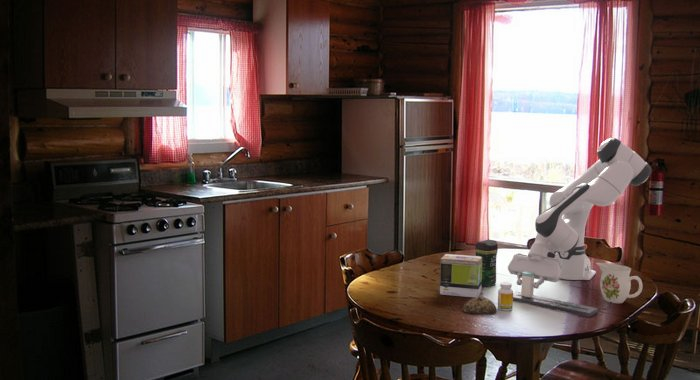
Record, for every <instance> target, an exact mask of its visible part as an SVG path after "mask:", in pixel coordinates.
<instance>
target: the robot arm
mask: <svg viewBox="0 0 700 380" xmlns="http://www.w3.org/2000/svg"><path fill="white" fill-rule="evenodd" d="M596 156H597V158H598V160H597V161H596V162H594V163H593V164H592V165H591V166H590V167H588V168H587V170H585V171H584V172H583V173H582V174H581V175H579V176H577V177H576V178H574V179H572V180H571V181H569V182H568V183H567V184H566V185H564V186H563V187H561V188H560V189H558V190H557V191H554V192H553V193H552V194H551V195H550V198H549V206H550V207H549V208H548V209H546V210H543V211H542V213H540V214H539V215H538V216H537V217H536V219H535V227H534V228H535V231H536V233H537V234H536V236H535V240H534V242H533V243H532V245H531V247H530V250H529V251H528V254H527V253H522V252H519V253H516V254H514V255H513V257H512V259H511V260H510V262H509V263H508V266H507V270H508V272H509V274H510V275H514V276H517V277H516V278H517V280H516V285H517V286H522V273H523V272H526V271H527V272H533V273H534V280H538V281H534V285H533V287H534V289H536V290H537V289H539V288H540V286H541V285H542V284H544V283H545V281H546V282H550V283H556V282H558V281H559V279H561V280H567V281H590V280H591V279H592V278H593V277H594V276H595V275H596V270H593V269H592V268H591V267H592V266H591V264H592V262H591V259H590V258H589V257H588V256H587V254H586V250H587V248H588V245H587V244H585V235H586V234H585V232H586V230H585V229H586V226H587V222H588V218H589V216H590V214H591V213H590V212H591V210H592V208H593V207H594V206H597V207H608V206H611V205H612V204H614V203H615V202H616V201H617V200H618V199H619V198H620V196H621V195H622V194H623V193H624V192H625V190H626V189H627V187H629V185H631V186H633V187H637V186H641V185H642V184H643V183H645V182H647V180H648V179H649V178H650V175H651V173H652V167H651V166H650V164H649V163H648V162H647V161H645V160H644V159H643V158H642V157H641V156H640V155H639V154H638V153H637V152H636V151H634V150H632V148H630V147H629V146H628V145H626V144H624V143H623V142H622V141H621V140H620V139H618V138H616V137H610V138H607V139H606V140H604V141H603V142H602V143H600V145H599V147H598V149H597V150H596ZM555 251H556V253H554V252H555Z"/></svg>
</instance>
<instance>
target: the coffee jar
mask: <svg viewBox="0 0 700 380" xmlns="http://www.w3.org/2000/svg"><path fill="white" fill-rule="evenodd" d="M498 246H499V244H498V242H497V240H493V239H485V240H481V241H477V242H475V247H474V252H475V256H481V257H482V286H481V287H491V286H493V285H496V284H497V257H498V256H497V255H498V249H499V247H498Z"/></svg>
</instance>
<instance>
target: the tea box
mask: <svg viewBox="0 0 700 380" xmlns="http://www.w3.org/2000/svg"><path fill="white" fill-rule="evenodd" d="M439 269H440V273H439V274H440V275H439V276H440V277H439V295H444V296H452V297H453V296H454V297H455V296H456V297H464V298H472V299H473V298H478V297H480V295H481V293H482V287H483V286H482V257H481V256H476V255H468V254H467V255H466V254H452V253H451V254H450V253H445V254H444V255H443V256H442V257H441V258H440V268H439Z"/></svg>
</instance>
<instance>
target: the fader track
mask: <svg viewBox="0 0 700 380" xmlns="http://www.w3.org/2000/svg"><path fill="white" fill-rule="evenodd" d="M513 302H517V303H521V304H527V305H530V306H535V307H539V306H540V308H544V307H545V308H544V309H548V308H549V309H550V310H554V311H558V312H563V313H568V314H572V315H578V316H581V317H585V316H586V318H590V317H592V316H594V315H595V314H597V313H598V310H599V309H598V307H592V306H588V305H583V304H579V303H574V302H570V301H563V300H558V299H556V298H555V299H554V298H549V297H544V296H539V295H535V294H533V296H532V297H525V296H521V292H520V291H516V292H513Z"/></svg>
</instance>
